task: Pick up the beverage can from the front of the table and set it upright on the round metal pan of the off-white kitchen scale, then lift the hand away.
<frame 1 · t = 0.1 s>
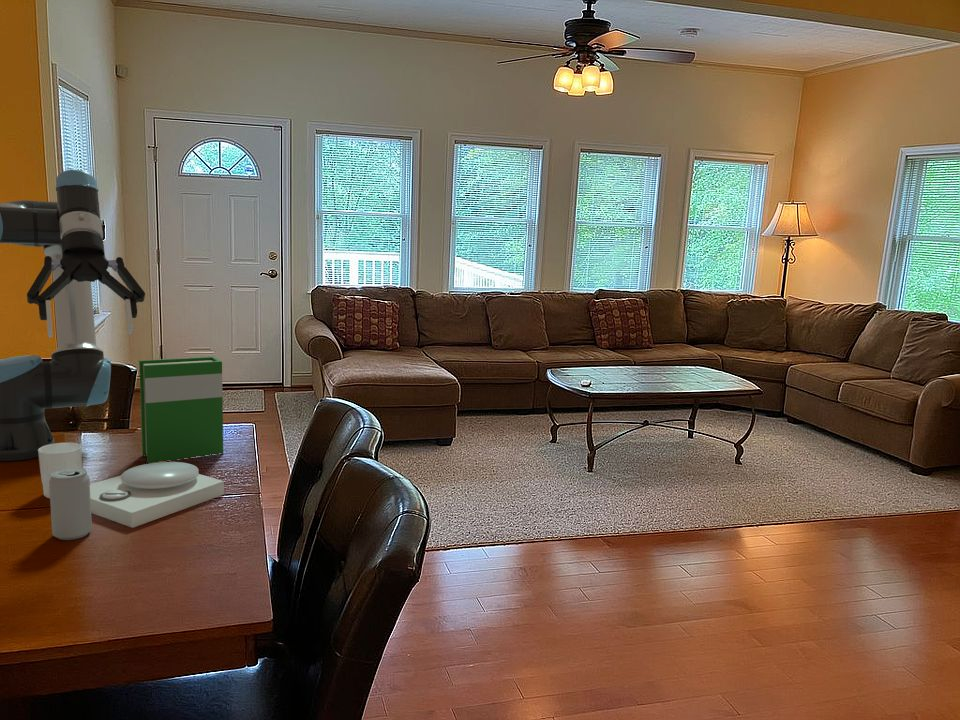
hand: (91, 332, 139), 36 cm above the table, tool tilted 35°, fingers open, 13 cm apart
white cup: (62, 494, 153), on the table
beverage can: (72, 535, 133), on the table
kitchen scale: (148, 499, 152), on the table
hardback book: (183, 455, 181), on the table
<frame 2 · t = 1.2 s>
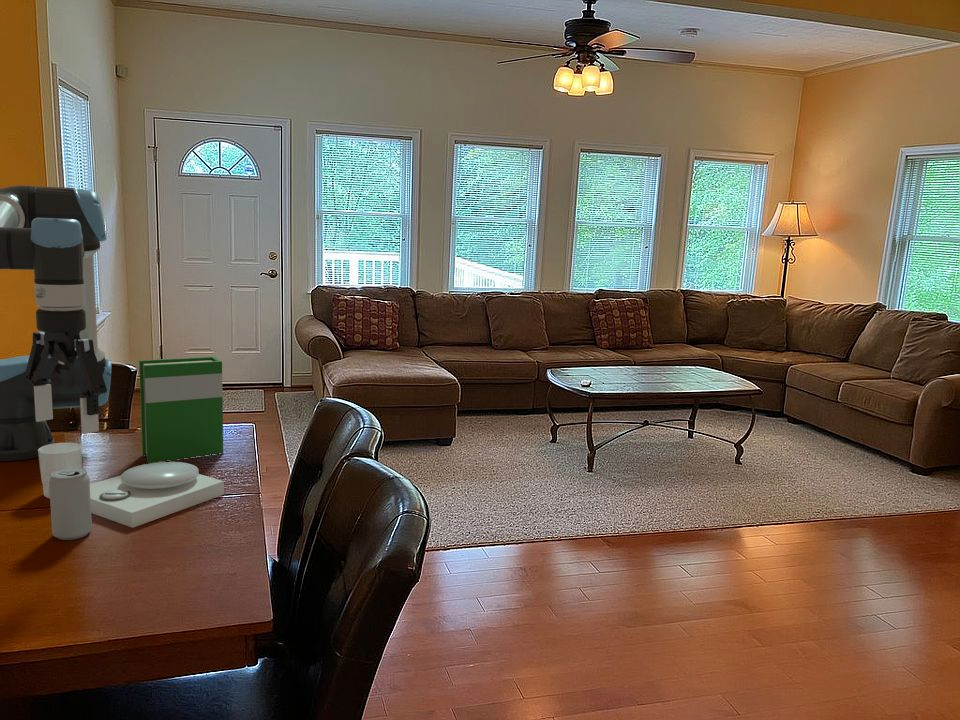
hand: (66, 426, 130), 21 cm above the table, tool pointing down, fingers open, 13 cm apart
nothing on the table moved.
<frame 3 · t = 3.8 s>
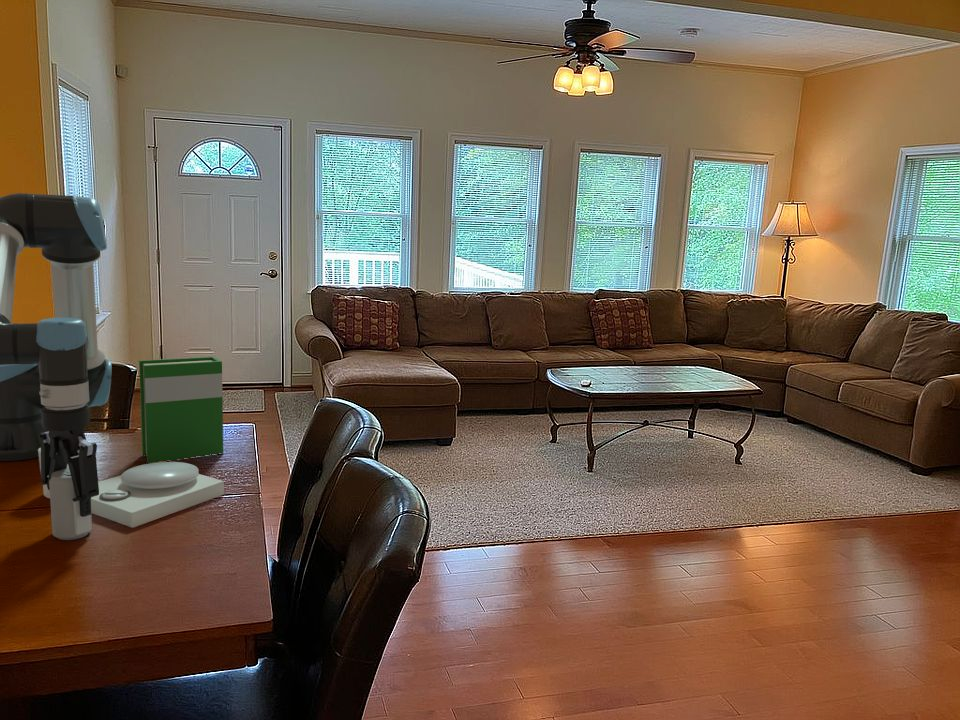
hand: (71, 527, 133), 1 cm above the table, tool pointing down, fingers closed on beverage can, 6 cm apart
beverage can: (72, 535, 133), on the table, touching gripper
everything else where it was.
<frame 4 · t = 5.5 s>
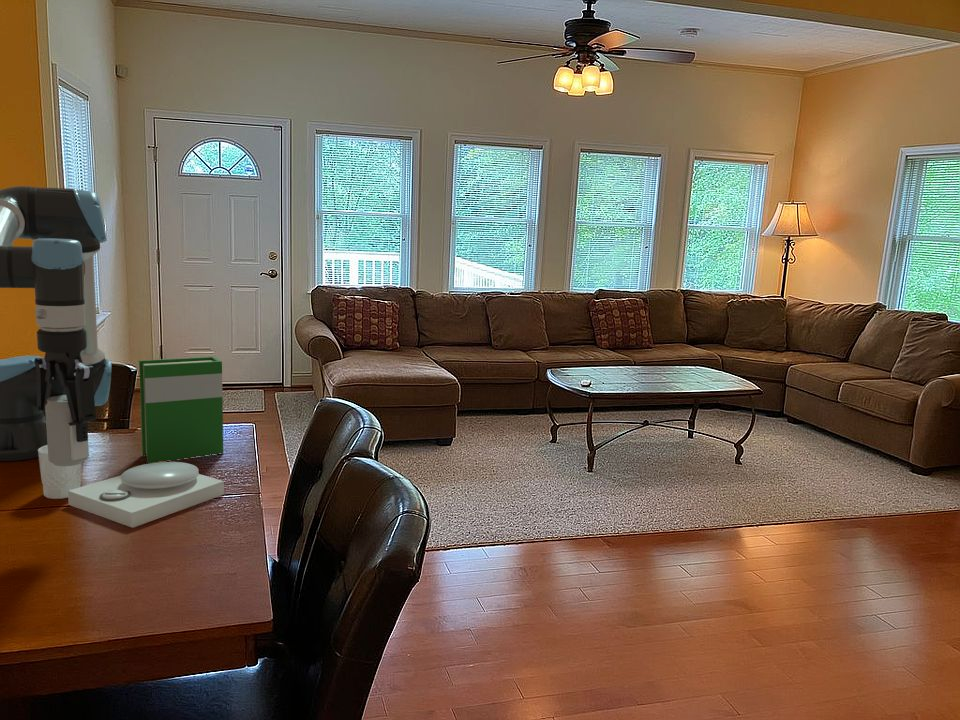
hand: (68, 454, 131), 15 cm above the table, tool pointing down, fingers closed on beverage can, 6 cm apart
beverage can: (69, 463, 131), point 14 cm above the table, touching gripper
everything else where it was.
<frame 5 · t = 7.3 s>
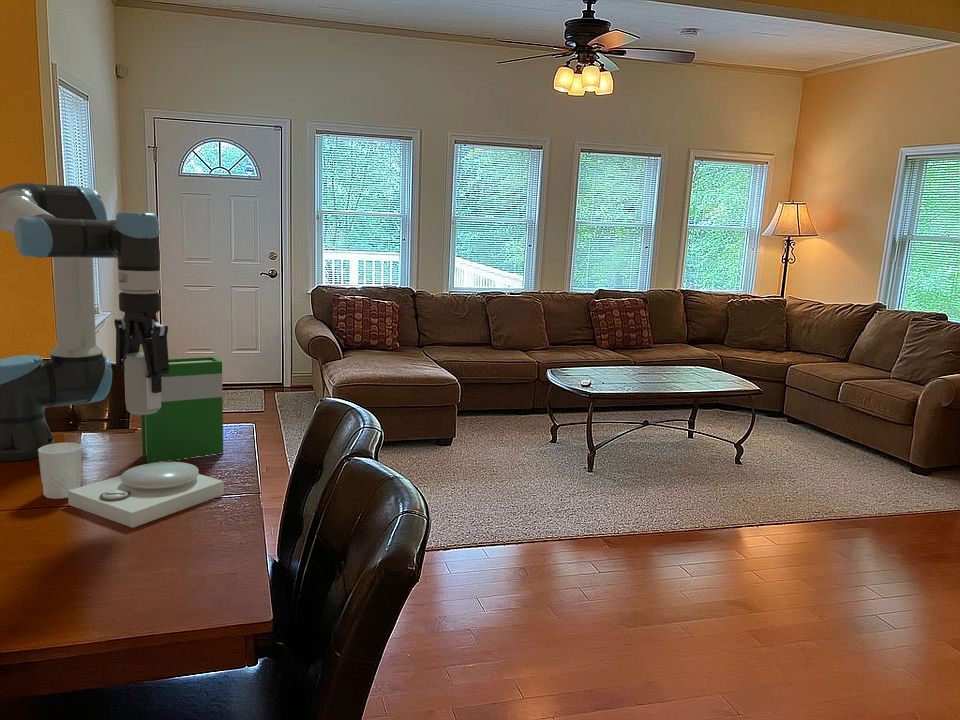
hand: (143, 405, 147), 21 cm above the table, tool pointing down, fingers closed on beverage can, 6 cm apart
beverage can: (143, 412, 147), point 19 cm above the table, touching gripper
everything else where it was.
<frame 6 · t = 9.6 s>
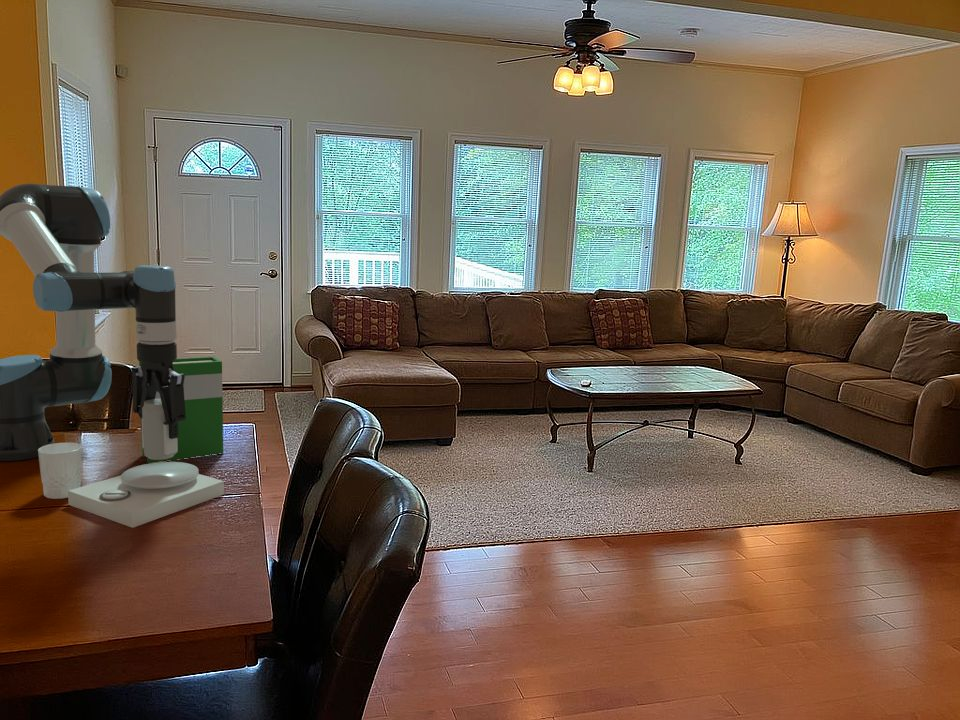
hand: (160, 449, 152), 10 cm above the table, tool pointing down, fingers closed on beverage can, 6 cm apart
beverage can: (160, 457, 153), point 8 cm above the table, touching gripper
everything else where it was.
when the fingers open (8 cm above the table, at t = 10.9 s): beverage can drops 1 cm, resting on kitchen scale.
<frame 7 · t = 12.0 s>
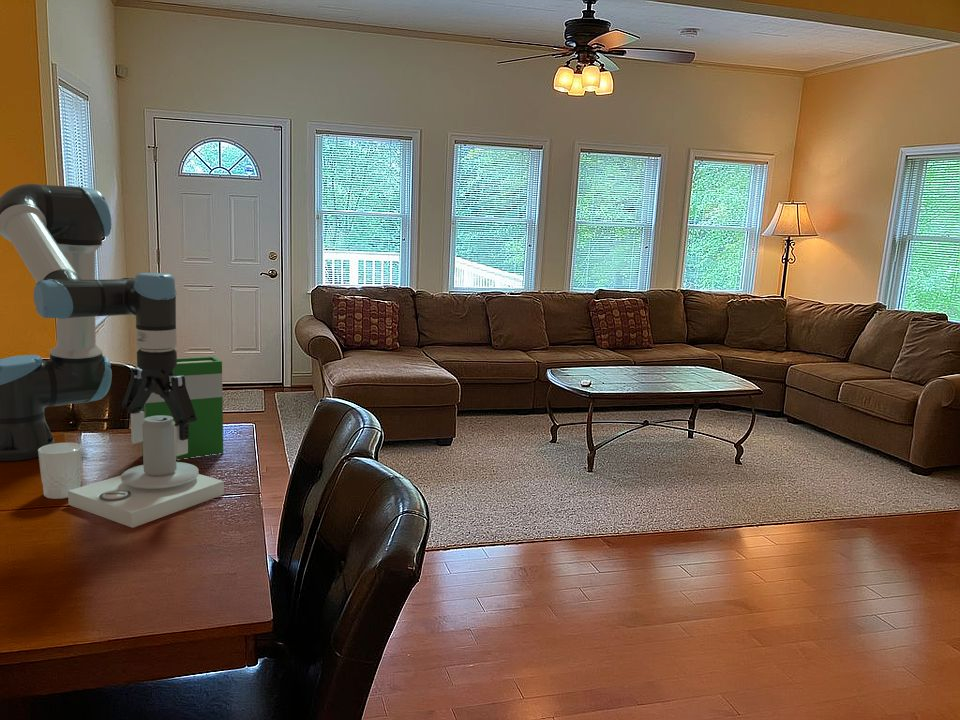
hand: (159, 448, 153), 10 cm above the table, tool pointing down, fingers open, 13 cm apart
beverage can: (160, 473, 153), point 5 cm above the table, touching kitchen scale
everything else where it was.
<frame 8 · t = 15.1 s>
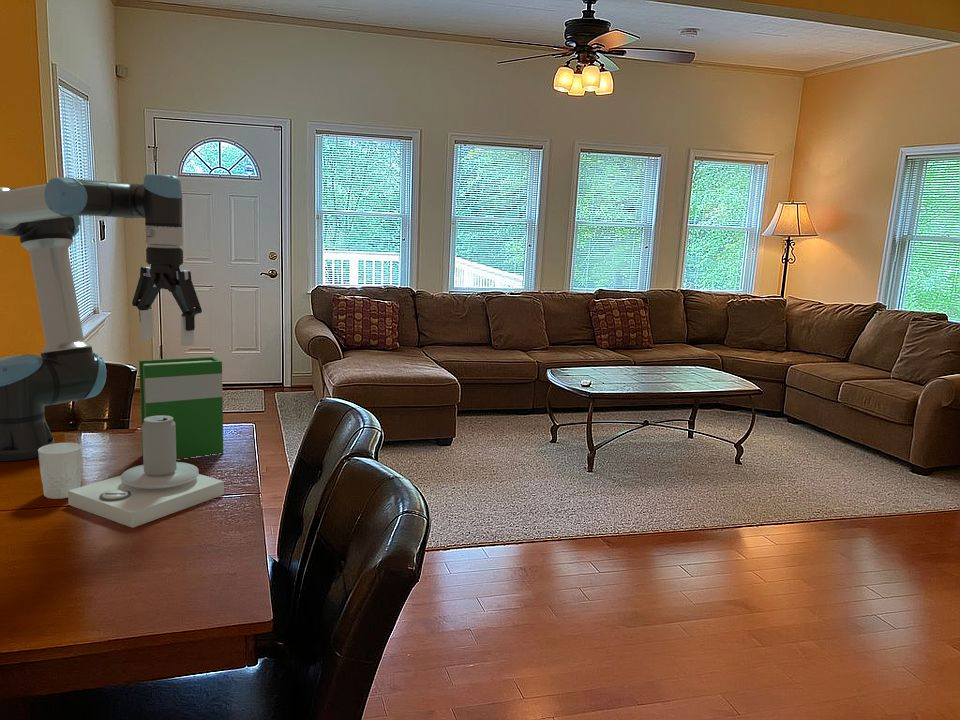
hand: (167, 341, 164), 31 cm above the table, tool pointing down, fingers open, 13 cm apart
nothing on the table moved.
at the end: beverage can inside the target area on the kitchen scale (0.1 cm from its centre), point 4.8 cm above the kitchen scale's base; beverage can tilted 0°; the gripper is holding nothing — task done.
